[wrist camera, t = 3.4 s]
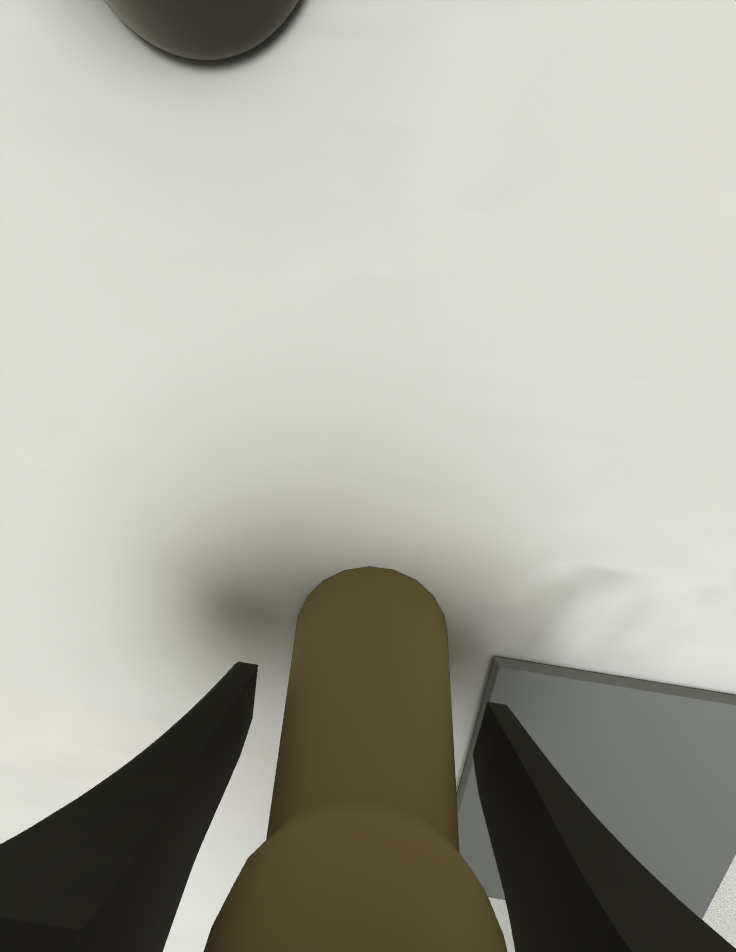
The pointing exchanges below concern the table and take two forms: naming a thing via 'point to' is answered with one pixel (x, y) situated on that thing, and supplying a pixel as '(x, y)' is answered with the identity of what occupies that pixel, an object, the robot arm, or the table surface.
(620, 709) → the placemat
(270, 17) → the supplement bottle
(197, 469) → the table surface
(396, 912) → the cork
